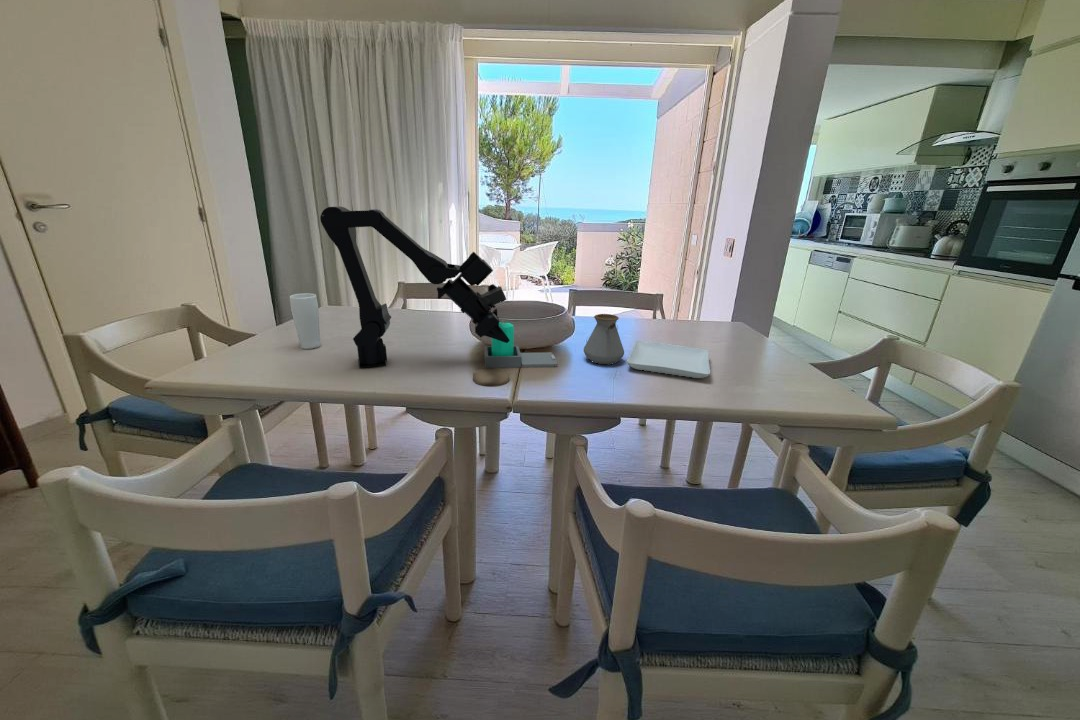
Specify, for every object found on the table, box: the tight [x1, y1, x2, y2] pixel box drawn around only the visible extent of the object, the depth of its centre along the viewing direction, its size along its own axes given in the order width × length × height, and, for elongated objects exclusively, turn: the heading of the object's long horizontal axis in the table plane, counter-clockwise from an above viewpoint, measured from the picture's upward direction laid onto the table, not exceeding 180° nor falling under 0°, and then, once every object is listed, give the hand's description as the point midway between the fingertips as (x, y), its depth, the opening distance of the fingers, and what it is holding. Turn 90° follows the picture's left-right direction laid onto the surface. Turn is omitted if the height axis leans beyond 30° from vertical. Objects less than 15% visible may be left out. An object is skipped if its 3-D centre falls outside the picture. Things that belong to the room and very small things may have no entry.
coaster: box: [472, 367, 510, 387], centre depth 106 cm, size 9×9×1 cm
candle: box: [491, 319, 515, 356], centre depth 117 cm, size 6×6×12 cm
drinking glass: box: [289, 292, 322, 350], centre depth 122 cm, size 7×7×15 cm
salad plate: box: [626, 339, 711, 379], centre depth 121 cm, size 21×21×3 cm
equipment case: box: [484, 345, 559, 369], centre depth 119 cm, size 19×10×3 cm, turn 98°
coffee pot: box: [583, 313, 625, 365], centre depth 115 cm, size 21×12×15 cm, turn 177°
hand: (507, 338), depth 117 cm, fingers closed on candle, 5 cm apart
